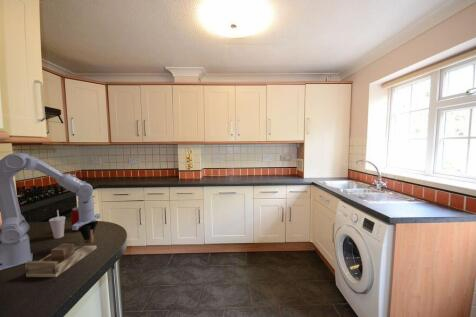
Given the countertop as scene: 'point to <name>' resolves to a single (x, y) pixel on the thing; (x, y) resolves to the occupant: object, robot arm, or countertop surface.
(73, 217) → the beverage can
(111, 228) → the countertop surface
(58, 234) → the smoothie
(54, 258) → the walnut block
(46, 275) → the lane shelf
